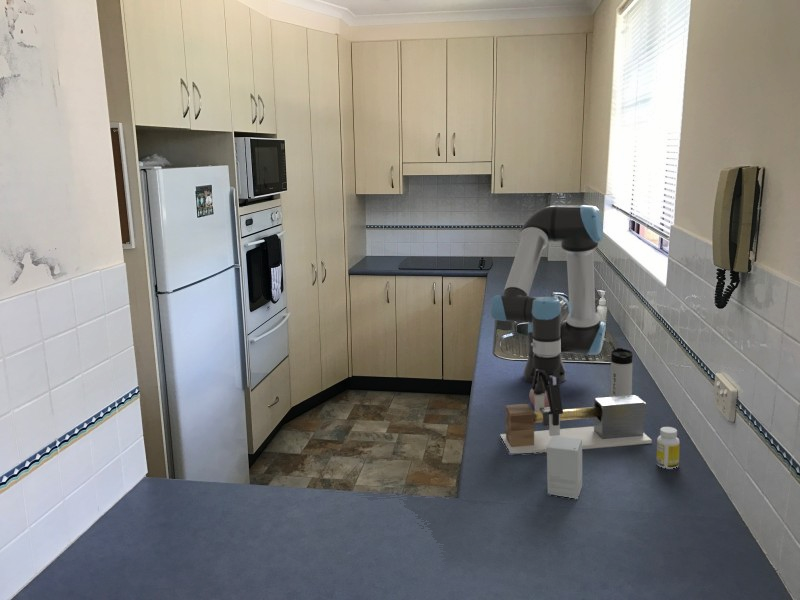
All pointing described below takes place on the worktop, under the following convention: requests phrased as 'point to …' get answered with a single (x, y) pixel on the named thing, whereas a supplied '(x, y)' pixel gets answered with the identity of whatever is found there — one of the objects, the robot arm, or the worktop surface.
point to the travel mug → (621, 372)
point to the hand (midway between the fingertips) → (546, 425)
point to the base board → (585, 433)
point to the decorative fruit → (532, 398)
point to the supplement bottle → (668, 448)
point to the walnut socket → (519, 425)
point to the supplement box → (564, 466)
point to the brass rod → (567, 414)
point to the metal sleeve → (620, 417)
